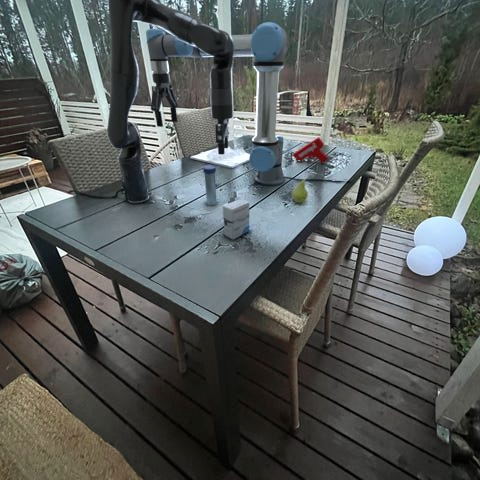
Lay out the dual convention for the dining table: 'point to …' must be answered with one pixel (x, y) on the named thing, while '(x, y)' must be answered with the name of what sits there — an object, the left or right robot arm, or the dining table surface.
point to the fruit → (300, 192)
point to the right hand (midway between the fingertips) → (167, 124)
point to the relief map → (224, 157)
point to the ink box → (236, 218)
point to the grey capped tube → (210, 188)
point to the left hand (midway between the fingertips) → (223, 151)
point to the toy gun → (311, 151)
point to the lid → (209, 169)
